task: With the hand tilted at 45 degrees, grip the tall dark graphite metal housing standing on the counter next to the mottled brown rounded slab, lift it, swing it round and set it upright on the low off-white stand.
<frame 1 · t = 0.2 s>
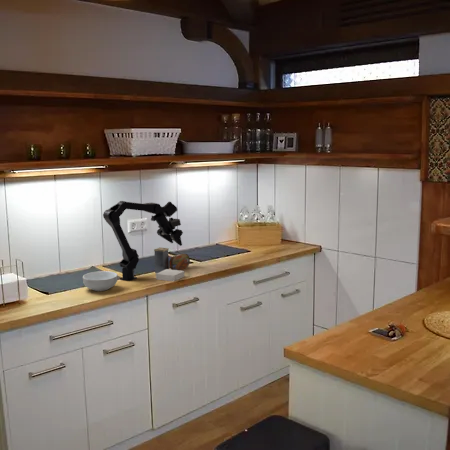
hand: (176, 244, 306), 15 cm above the counter, tool tilted 35°, fingers open, 9 cm apart
stand: (170, 277, 292), on the counter
cereal bowl: (100, 289, 272), on the counter
mottled brown rounded slab: (179, 269, 311), on the counter
housing: (162, 272, 304), on the counter
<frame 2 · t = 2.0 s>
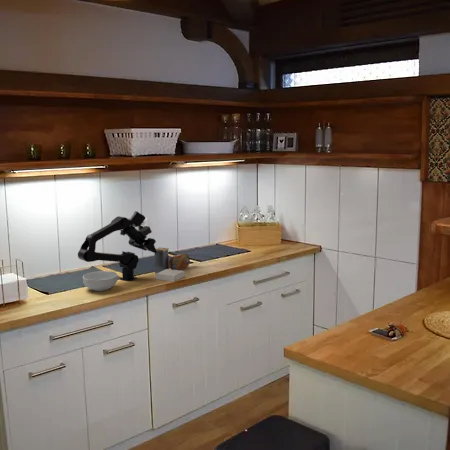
hand: (151, 251, 298), 13 cm above the counter, tool tilted 45°, fingers open, 9 cm apart
nothing on the counter moved.
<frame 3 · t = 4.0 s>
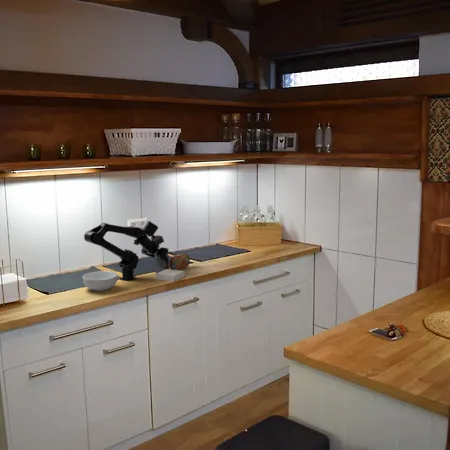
hand: (163, 260, 304), 7 cm above the counter, tool tilted 45°, fingers closed on housing, 7 cm apart
housing: (162, 272, 304), on the counter, touching gripper
everything else where it was.
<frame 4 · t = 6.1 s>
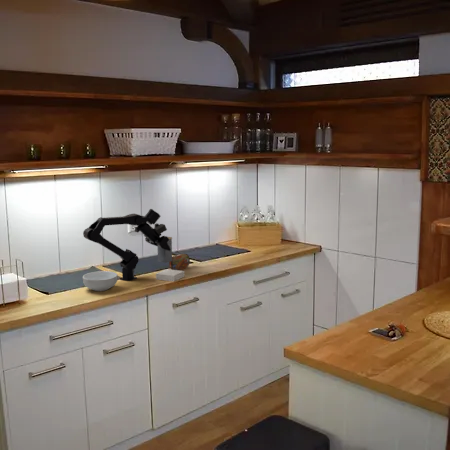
hand: (166, 249, 300), 13 cm above the counter, tool tilted 45°, fingers closed on housing, 7 cm apart
housing: (164, 261, 301), point 7 cm above the counter, touching gripper
everything else where it was.
when the fingers open (11 cm above the counter, at t = 7.9 s): housing drops 1 cm, resting on stand.
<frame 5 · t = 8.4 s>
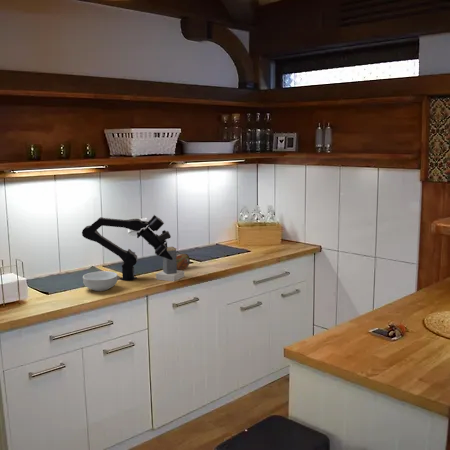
hand: (172, 257, 290), 11 cm above the counter, tool tilted 45°, fingers open, 9 cm apart
housing: (169, 272, 291), point 3 cm above the counter, touching stand
everything else where it was.
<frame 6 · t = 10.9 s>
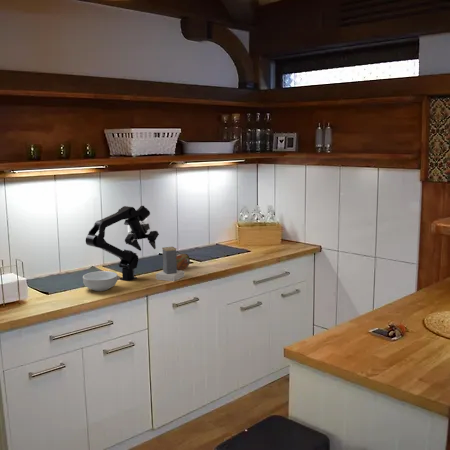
hand: (147, 249, 298), 14 cm above the counter, tool tilted 30°, fingers open, 9 cm apart
nothing on the counter moved.
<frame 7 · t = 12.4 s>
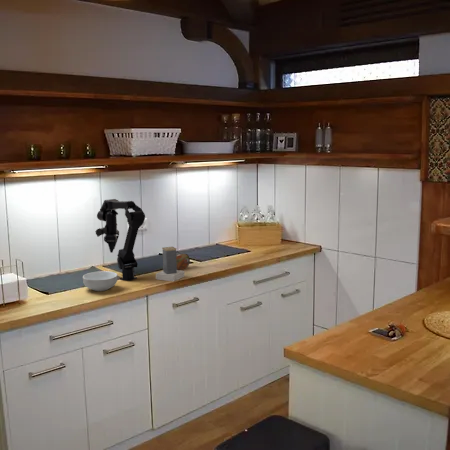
hand: (112, 250, 299), 13 cm above the counter, tool pointing down, fingers open, 9 cm apart
nothing on the counter moved.
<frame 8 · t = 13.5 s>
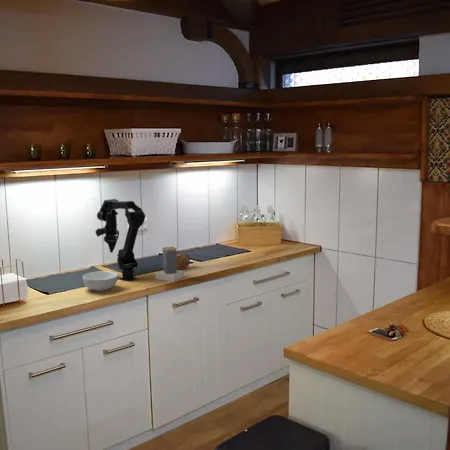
hand: (112, 250, 299), 13 cm above the counter, tool pointing down, fingers open, 9 cm apart
nothing on the counter moved.
at the end: housing 0.1 cm off-centre on the stand, point 3.0 cm above the stand's base; housing tilted 0°; the gripper is holding nothing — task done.
